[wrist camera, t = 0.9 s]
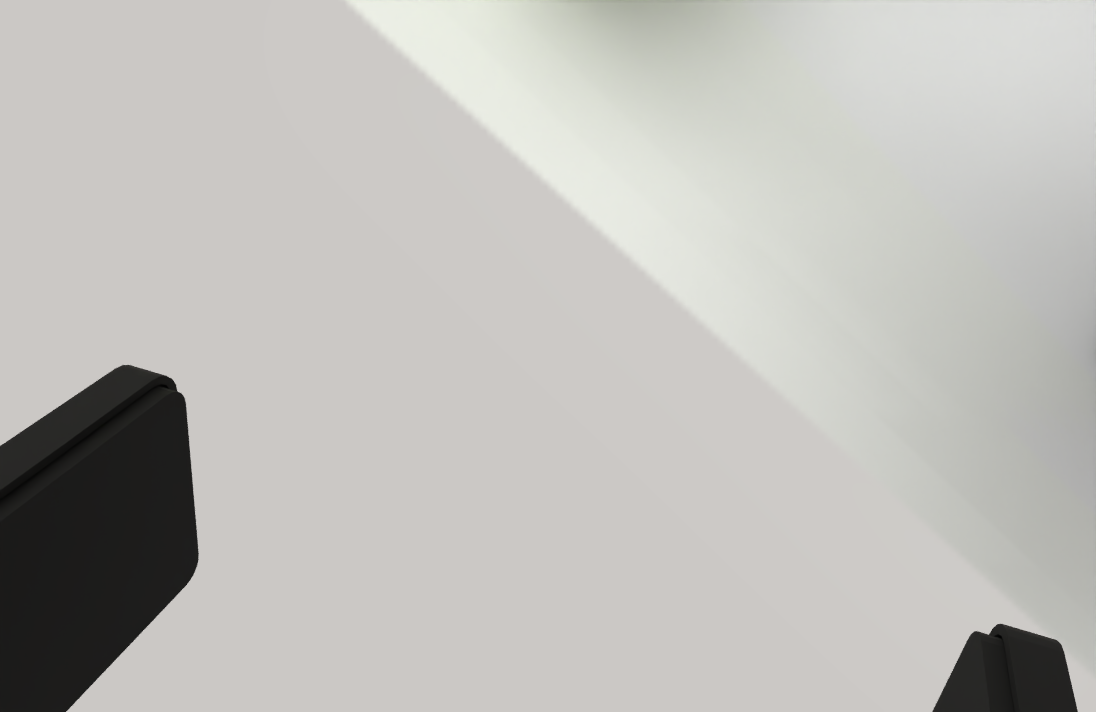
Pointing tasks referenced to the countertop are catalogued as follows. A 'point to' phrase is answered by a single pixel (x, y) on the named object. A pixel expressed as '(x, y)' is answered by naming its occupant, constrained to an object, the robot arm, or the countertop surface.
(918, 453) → the countertop surface
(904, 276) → the countertop surface
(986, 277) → the countertop surface
